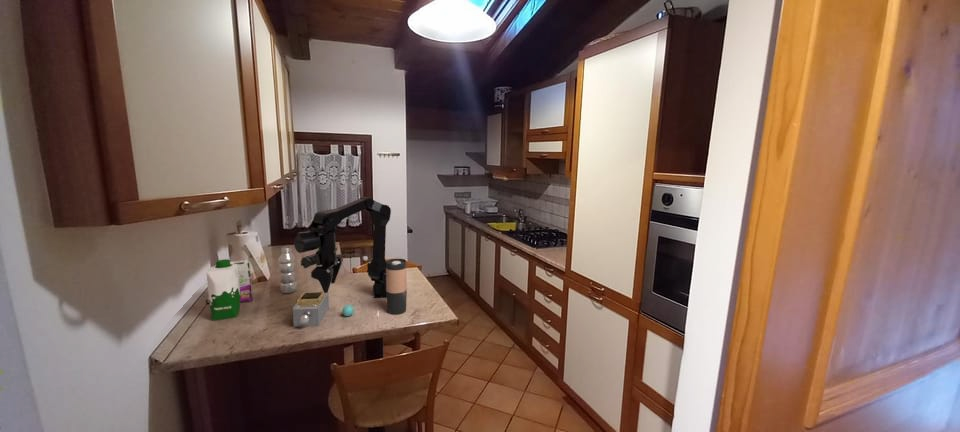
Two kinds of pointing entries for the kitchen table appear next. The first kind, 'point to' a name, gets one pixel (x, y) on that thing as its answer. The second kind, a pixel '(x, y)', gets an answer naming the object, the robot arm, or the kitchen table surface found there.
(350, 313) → the bead
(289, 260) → the plastic bottle
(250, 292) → the candy bar box
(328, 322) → the kitchen table surface
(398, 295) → the travel mug
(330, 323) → the kitchen table surface
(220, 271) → the milk carton
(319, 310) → the gearbox
